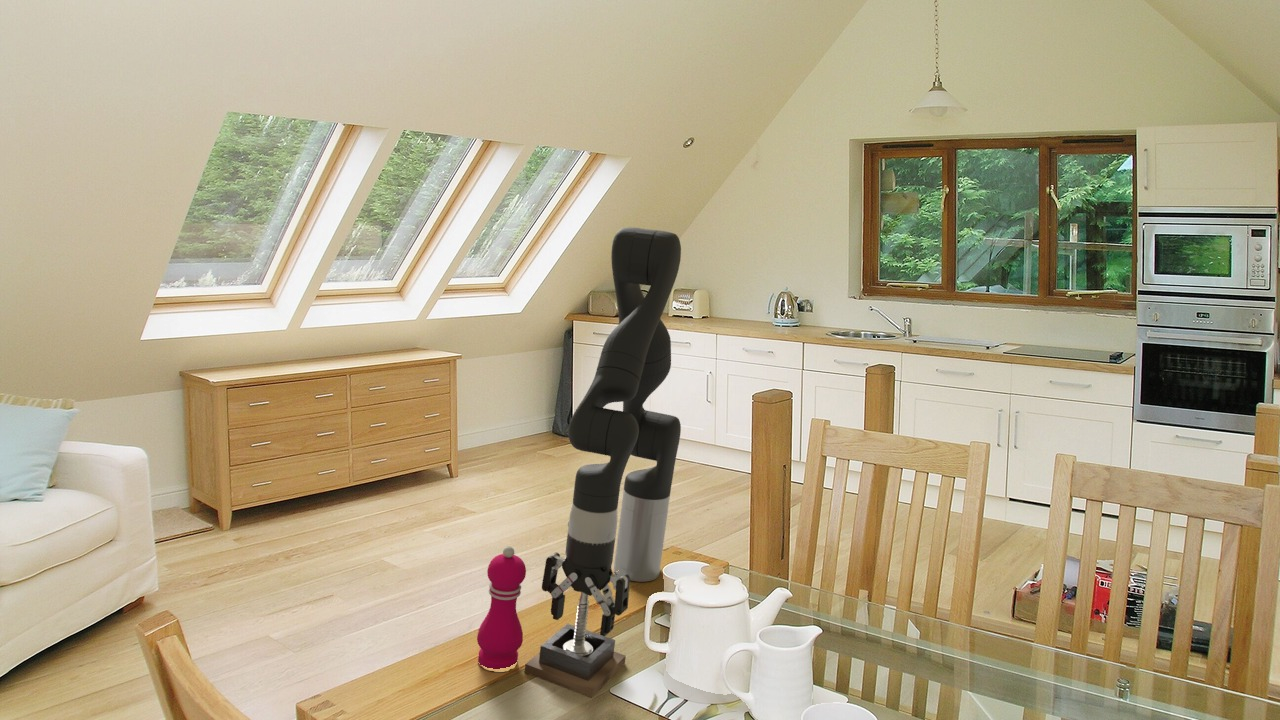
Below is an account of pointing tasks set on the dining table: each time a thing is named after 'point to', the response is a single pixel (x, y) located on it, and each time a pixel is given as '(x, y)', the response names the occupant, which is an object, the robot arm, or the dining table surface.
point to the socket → (572, 662)
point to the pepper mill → (502, 612)
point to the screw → (580, 630)
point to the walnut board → (572, 681)
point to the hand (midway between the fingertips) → (580, 625)
